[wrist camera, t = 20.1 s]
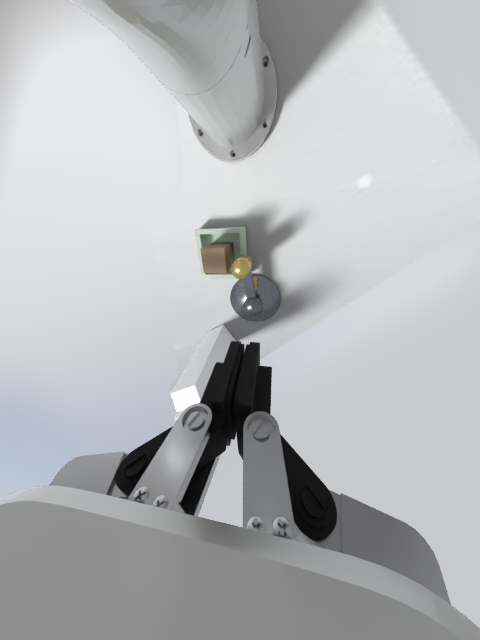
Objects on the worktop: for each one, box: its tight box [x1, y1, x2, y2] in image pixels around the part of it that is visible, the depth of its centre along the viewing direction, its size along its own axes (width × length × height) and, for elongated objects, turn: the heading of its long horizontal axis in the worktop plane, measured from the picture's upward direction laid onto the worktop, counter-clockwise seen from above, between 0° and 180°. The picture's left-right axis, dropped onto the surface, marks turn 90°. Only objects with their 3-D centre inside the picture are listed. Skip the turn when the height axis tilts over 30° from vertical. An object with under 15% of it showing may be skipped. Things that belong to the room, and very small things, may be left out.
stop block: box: [200, 242, 234, 273], centre depth 33 cm, size 4×4×7 cm
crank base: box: [230, 275, 280, 321], centre depth 39 cm, size 11×11×3 cm
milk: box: [171, 324, 236, 420], centre depth 38 cm, size 6×6×22 cm
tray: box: [195, 227, 247, 279], centre depth 35 cm, size 9×9×2 cm
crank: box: [231, 254, 263, 317], centre depth 34 cm, size 12×4×6 cm, turn 12°
